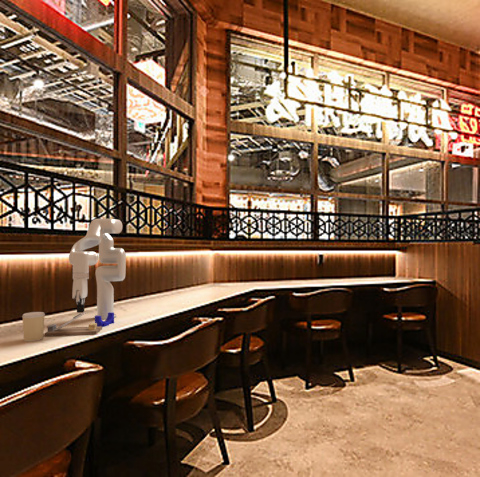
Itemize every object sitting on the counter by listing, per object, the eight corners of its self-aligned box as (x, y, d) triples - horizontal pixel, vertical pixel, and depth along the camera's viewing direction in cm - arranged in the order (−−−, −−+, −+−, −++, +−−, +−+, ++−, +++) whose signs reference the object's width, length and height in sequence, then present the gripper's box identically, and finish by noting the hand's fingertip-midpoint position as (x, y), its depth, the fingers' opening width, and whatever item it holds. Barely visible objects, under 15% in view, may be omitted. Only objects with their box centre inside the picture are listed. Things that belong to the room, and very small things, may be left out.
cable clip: (101, 327, 197) (101, 316, 197) (94, 327, 199) (94, 316, 199) (116, 323, 209) (116, 312, 209) (109, 322, 210) (109, 312, 210)
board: (53, 330, 190) (53, 323, 190) (102, 329, 193) (102, 321, 193) (44, 336, 178) (44, 328, 178) (96, 334, 181) (96, 326, 181)
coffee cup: (48, 336, 178) (48, 311, 178) (38, 341, 168) (38, 315, 169) (28, 336, 177) (29, 311, 178) (17, 341, 168) (17, 315, 168)
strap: (55, 331, 182) (53, 328, 182) (58, 329, 187) (57, 327, 187) (83, 314, 184) (82, 312, 184) (86, 313, 189) (84, 310, 189)
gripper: (77, 275, 194) (77, 310, 193) (68, 277, 179) (67, 315, 178) (92, 274, 195) (92, 309, 194) (84, 276, 180) (84, 314, 179)
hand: (80, 312), depth 186 cm, fingers closed
